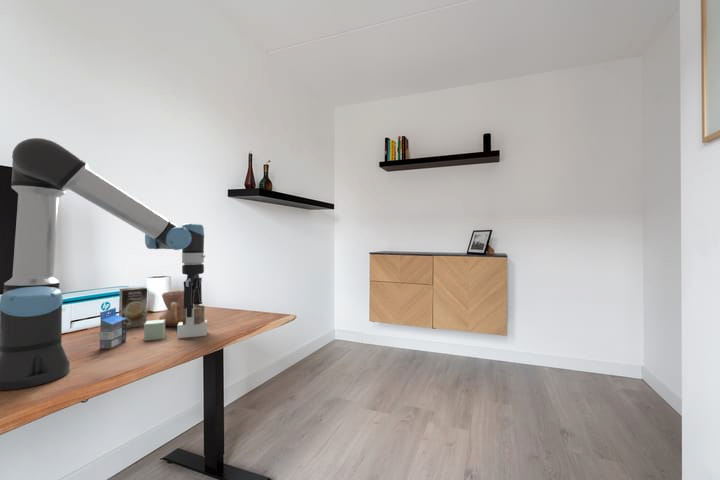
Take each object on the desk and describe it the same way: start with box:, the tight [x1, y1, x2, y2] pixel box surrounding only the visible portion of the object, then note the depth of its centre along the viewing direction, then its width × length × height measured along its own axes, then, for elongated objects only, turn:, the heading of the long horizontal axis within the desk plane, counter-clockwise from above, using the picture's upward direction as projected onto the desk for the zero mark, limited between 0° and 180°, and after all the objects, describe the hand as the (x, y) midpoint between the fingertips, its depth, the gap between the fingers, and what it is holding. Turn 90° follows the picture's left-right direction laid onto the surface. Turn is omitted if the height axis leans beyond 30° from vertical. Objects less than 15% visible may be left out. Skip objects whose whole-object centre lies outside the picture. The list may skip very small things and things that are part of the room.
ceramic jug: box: [158, 289, 189, 327], centre depth 145 cm, size 18×14×14 cm
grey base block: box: [176, 319, 208, 339], centre depth 128 cm, size 5×10×5 cm, turn 114°
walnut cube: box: [183, 304, 205, 325], centre depth 128 cm, size 6×6×6 cm
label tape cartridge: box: [99, 307, 127, 350], centre depth 116 cm, size 9×4×12 cm, turn 7°
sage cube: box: [143, 319, 166, 341], centre depth 125 cm, size 6×6×6 cm
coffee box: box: [118, 286, 148, 329], centre depth 142 cm, size 9×6×16 cm
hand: (193, 323), depth 128 cm, fingers open, 6 cm apart
